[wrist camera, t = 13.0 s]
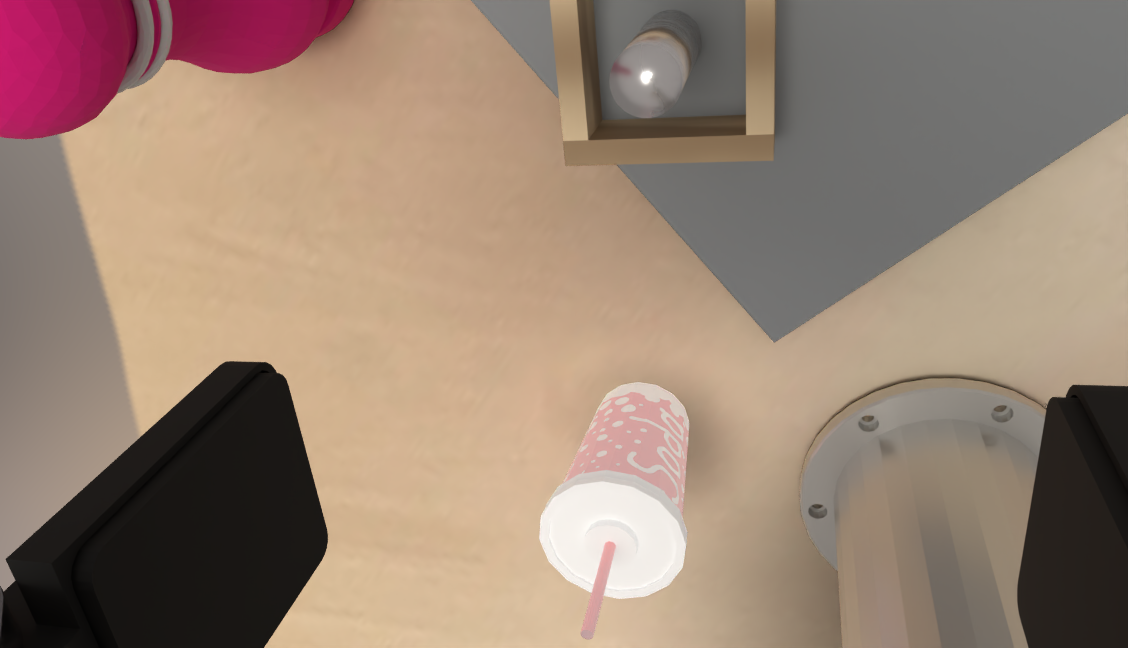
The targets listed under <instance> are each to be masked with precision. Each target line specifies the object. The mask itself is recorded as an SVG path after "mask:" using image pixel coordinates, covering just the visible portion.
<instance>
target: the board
mask: <svg viewBox="0 0 1128 648" xmlns="http://www.w3.org/2000/svg"><path fill="white" fill-rule="evenodd" d="M471 1H472V2H473V3H474V4H475V5H476V6H477V8H478V9H479V10H480V11H481V12H482V13H483V14H484V15H485V17H486V18H487V19H488V20H489V21H490V22H491V23H492V25H493V26H494V27H495V28H496V29H497V30H498V31H499V32H500V34H501V35H502V36H503V37H504V38H505V39H506V40H507V41H508V43H509V44H510V45H511V46H512V47H513V48H514V49H515V50H516V52H517V53H518V54H519V55H520V56H521V57H522V58H523V60H524V61H525V62H526V63H527V64H528V65H529V66H530V67H531V69H532V70H533V71H534V72H535V73H536V74H537V75H538V76H539V78H540V79H541V80H542V81H543V82H544V83H545V84H546V86H547V87H548V88H549V89H550V90H551V91H552V92H553V93H554V95H555V96H556V97H557V98H558V99H559V93H558V83H557V73H556V62H555V52H554V41H553V31H552V21H551V10H550V0H471ZM593 4H594V17H595V30H596V44H597V57H598V70H599V83H600V97H601V110H602V120H618V119H644V118H639V117H635V116H633V115H630V114H628V113H627V112H625V111H624V110H623V109H622V108H621V107H620V106H619V105H618V104H617V103H616V101H615V100H614V98H613V96H612V93H611V90H610V83H609V78H610V72H611V69H612V66H613V64H614V62H615V60H616V59H617V58H618V56H619V55H620V54H621V53H622V52H623V50H624V49H625V48H626V47H627V46H628V44H629V43H630V42H631V41H632V40H633V38H634V37H635V36H636V35H637V34H638V32H639V31H640V30H641V29H642V28H643V26H644V25H645V24H646V23H647V22H648V20H649V19H650V18H651V17H653V16H654V15H656V14H657V13H659V12H662V11H666V10H677V11H681V12H683V13H685V14H687V15H689V16H690V17H691V18H692V19H693V20H694V21H695V23H696V24H697V26H698V28H699V30H700V34H701V49H700V52H699V54H698V57H697V59H696V61H695V63H694V65H693V67H692V70H691V72H690V74H689V76H688V78H687V81H686V83H685V85H684V87H683V89H682V92H681V94H680V96H679V98H678V100H677V102H676V103H675V104H674V106H673V107H672V108H671V109H670V110H668V111H667V112H666V113H664V114H662V115H660V116H657V117H653V118H671V117H697V116H724V115H746V0H593ZM1126 114H1128V0H776V81H775V145H774V161H738V162H699V163H660V164H621V165H617V166H618V167H619V168H620V169H621V170H622V171H623V172H624V174H625V175H626V176H627V177H628V178H629V179H630V180H631V181H632V183H633V184H634V185H635V186H636V187H637V188H638V189H639V191H640V192H641V193H642V194H643V195H644V196H645V197H646V198H647V200H648V201H649V202H650V203H651V204H652V205H653V206H654V207H655V209H656V210H657V211H658V212H659V213H660V214H661V215H662V217H663V218H664V219H665V220H666V221H667V222H668V223H669V224H670V226H671V227H672V228H673V229H674V230H675V231H676V232H677V233H678V235H679V236H680V237H681V238H682V239H683V240H684V241H685V242H686V244H687V245H688V246H689V247H690V248H691V249H692V250H693V252H694V253H695V254H696V255H697V256H698V257H699V258H700V259H701V261H702V262H703V263H704V264H705V265H706V266H707V267H708V268H709V270H710V271H711V272H712V273H713V274H714V275H715V276H716V277H717V279H718V280H719V281H720V282H721V283H722V284H723V285H724V287H725V288H726V289H727V290H728V291H729V292H730V293H731V294H732V296H733V297H734V298H735V299H736V300H737V301H738V302H739V303H740V305H741V306H742V307H743V308H744V309H745V310H746V311H747V312H748V314H749V315H750V316H751V317H752V318H753V319H754V320H755V322H756V323H757V324H758V325H759V326H760V327H761V328H762V329H763V331H764V332H765V333H766V334H767V335H768V336H769V337H770V338H771V340H772V341H773V342H776V341H777V340H779V339H780V338H782V337H784V336H785V335H787V334H788V333H790V332H791V331H793V330H794V329H796V328H797V327H799V326H801V325H802V324H804V323H805V322H807V321H808V320H810V319H811V318H813V317H814V316H816V315H818V314H819V313H821V312H822V311H824V310H825V309H827V308H828V307H830V306H831V305H833V304H834V303H836V302H838V301H839V300H841V299H842V298H844V297H845V296H847V295H848V294H850V293H851V292H853V291H855V290H856V289H858V288H859V287H861V286H862V285H864V284H865V283H867V282H868V281H870V280H872V279H873V278H875V277H876V276H878V275H879V274H881V273H882V272H884V271H885V270H887V269H888V268H890V267H892V266H893V265H895V264H896V263H898V262H899V261H901V260H902V259H904V258H905V257H907V256H909V255H910V254H912V253H913V252H915V251H916V250H918V249H919V248H921V247H922V246H924V245H926V244H927V243H929V242H930V241H932V240H933V239H935V238H936V237H938V236H939V235H941V234H942V233H944V232H946V231H947V230H949V229H950V228H952V227H953V226H955V225H956V224H958V223H959V222H961V221H963V220H964V219H966V218H967V217H969V216H970V215H972V214H973V213H975V212H976V211H978V210H980V209H981V208H983V207H984V206H986V205H987V204H989V203H990V202H992V201H993V200H995V199H996V198H998V197H1000V196H1001V195H1003V194H1004V193H1006V192H1007V191H1009V190H1010V189H1012V188H1013V187H1015V186H1017V185H1018V184H1020V183H1021V182H1023V181H1024V180H1026V179H1027V178H1029V177H1030V176H1032V175H1034V174H1035V173H1037V172H1038V171H1040V170H1041V169H1043V168H1044V167H1046V166H1047V165H1049V164H1050V163H1052V162H1054V161H1055V160H1057V159H1058V158H1060V157H1061V156H1063V155H1064V154H1066V153H1067V152H1069V151H1071V150H1072V149H1074V148H1075V147H1077V146H1078V145H1080V144H1081V143H1083V142H1084V141H1086V140H1088V139H1089V138H1091V137H1092V136H1094V135H1095V134H1097V133H1098V132H1100V131H1101V130H1103V129H1104V128H1106V127H1108V126H1109V125H1111V124H1112V123H1114V122H1115V121H1117V120H1118V119H1120V118H1121V117H1123V116H1125V115H1126Z"/></svg>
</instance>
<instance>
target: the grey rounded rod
mask: <svg viewBox="0 0 1128 648" xmlns="http://www.w3.org/2000/svg"><path fill="white" fill-rule="evenodd" d="M700 49H701V34H700V30H699V28H698V26H697V24H696V23H695V21H694V20H693V19H692V18H691V17H690V16H689V15H687V14H685V13H683V12H681V11H677V10H666V11H662V12H659V13H657V14H656V15H654V16H653V17H651V18H650V19H649V20H648V22H647V23H646V24H645V25H644V26H643V28H642V29H641V30H640V31H639V32H638V34H637V35H636V36H635V37H634V38H633V40H632V41H631V42H630V43H629V44H628V46H627V47H626V48H625V49H624V50H623V52H622V53H621V54H620V55H619V56H618V58H617V59H616V60H615V62H614V64H613V66H612V69H611V72H610V78H609V83H610V90H611V93H612V96H613V98H614V100H615V101H616V103H617V104H618V105H619V106H620V107H621V108H622V109H623V110H624V111H625V112H627V113H628V114H630V115H633V116H635V117H639V118H653V117H657V116H660V115H662V114H664V113H666V112H667V111H668V110H670V109H671V108H672V107H673V106H674V104H675V103H676V102H677V100H678V98H679V96H680V94H681V92H682V89H683V87H684V85H685V83H686V81H687V78H688V76H689V74H690V72H691V70H692V67H693V65H694V63H695V61H696V59H697V57H698V54H699V52H700Z"/></svg>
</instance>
